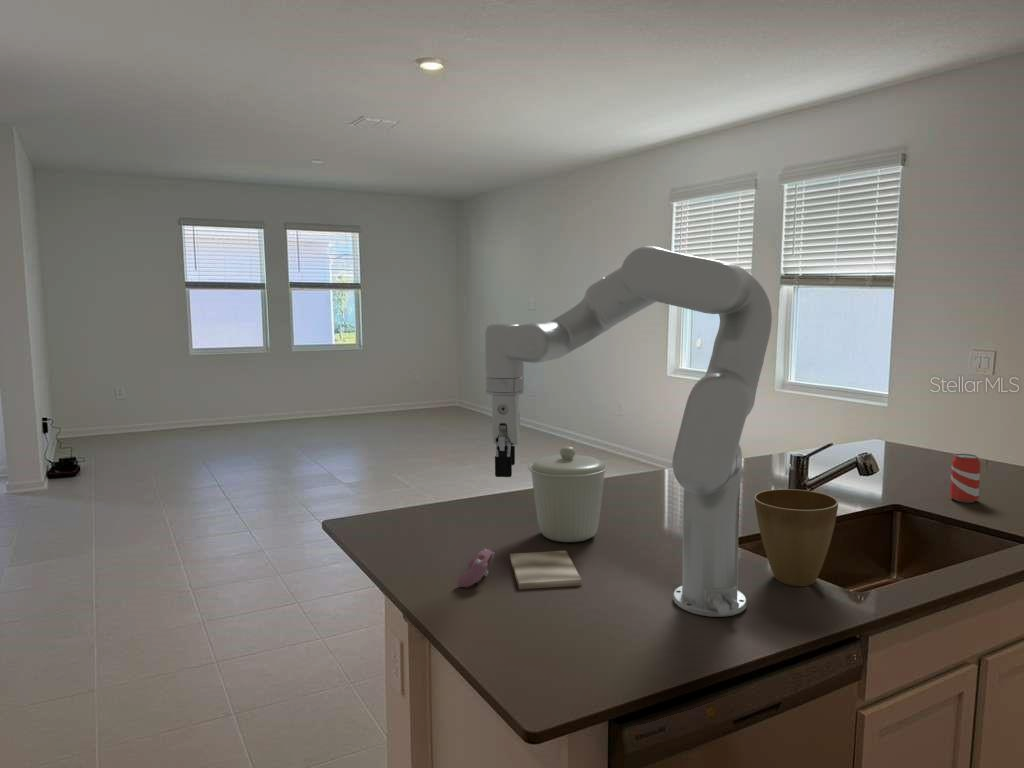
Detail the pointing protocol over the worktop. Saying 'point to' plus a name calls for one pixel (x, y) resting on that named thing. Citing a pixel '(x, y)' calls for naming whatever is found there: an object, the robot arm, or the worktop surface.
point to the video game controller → (476, 568)
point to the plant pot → (796, 532)
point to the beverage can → (965, 478)
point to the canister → (568, 495)
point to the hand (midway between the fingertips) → (505, 470)
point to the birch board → (544, 570)
